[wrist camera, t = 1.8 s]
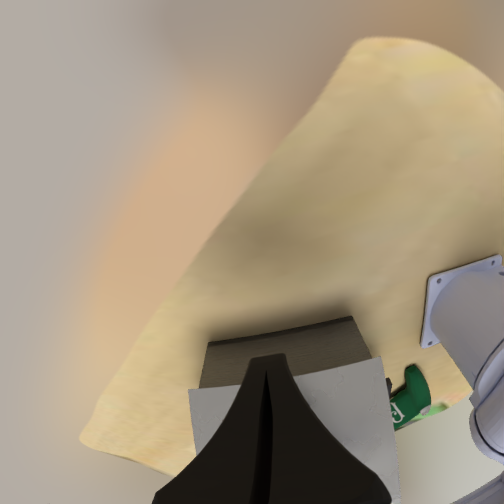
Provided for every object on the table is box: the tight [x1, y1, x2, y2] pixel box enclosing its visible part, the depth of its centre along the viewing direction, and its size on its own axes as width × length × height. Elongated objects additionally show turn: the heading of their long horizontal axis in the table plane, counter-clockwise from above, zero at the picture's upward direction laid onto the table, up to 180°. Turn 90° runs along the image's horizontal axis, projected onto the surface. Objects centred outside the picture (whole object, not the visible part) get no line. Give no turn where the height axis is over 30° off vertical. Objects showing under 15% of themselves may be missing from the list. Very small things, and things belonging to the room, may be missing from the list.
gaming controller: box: [389, 365, 431, 430], centre depth 25 cm, size 9×4×6 cm
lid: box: [188, 356, 401, 504], centre depth 14 cm, size 13×13×1 cm
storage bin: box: [199, 316, 392, 399], centre depth 22 cm, size 16×12×6 cm
